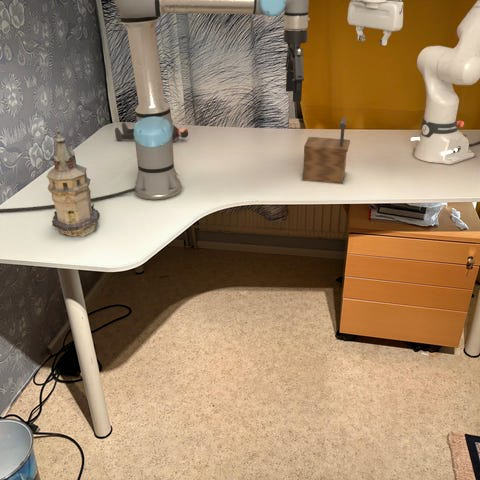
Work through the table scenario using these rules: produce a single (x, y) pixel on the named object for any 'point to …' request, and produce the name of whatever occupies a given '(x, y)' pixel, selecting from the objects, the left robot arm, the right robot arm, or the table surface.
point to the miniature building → (70, 193)
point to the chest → (324, 166)
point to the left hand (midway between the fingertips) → (293, 96)
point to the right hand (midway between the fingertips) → (371, 43)
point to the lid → (329, 141)
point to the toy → (130, 133)
